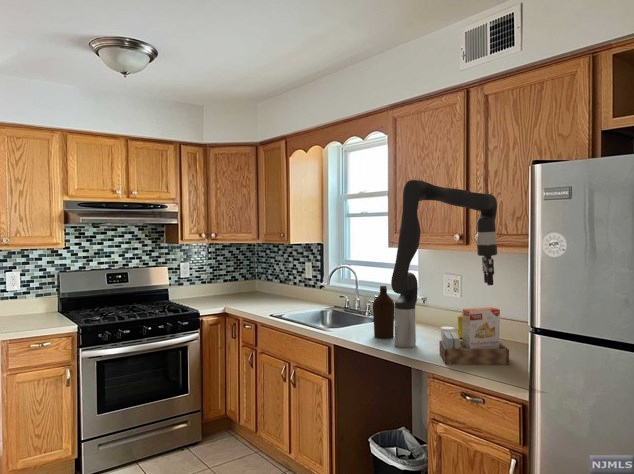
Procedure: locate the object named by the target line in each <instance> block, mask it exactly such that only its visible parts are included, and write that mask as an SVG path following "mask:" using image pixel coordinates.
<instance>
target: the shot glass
mask: <svg viewBox="0 0 634 474" xmlns="http://www.w3.org/2000/svg"><path fill="white" fill-rule="evenodd" d="M439 328H440V341H443V332H449V333H450V332H455V333H456V327H455V326H447V325H446V326H445V325H443V326H440V327H439Z"/></svg>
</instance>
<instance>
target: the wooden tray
mask: <svg viewBox="0 0 634 474" xmlns="http://www.w3.org/2000/svg"><path fill="white" fill-rule="evenodd" d="M439 356H440V358H441V360H442V361H443V363H444V365H466V366H467V365H470V366H471V365H474V366H475V365H478V366H479V365H483V366H484V365H485V366H486V365H489V366H495V365H497V366H509V365H510V349H509V348H508V347H507V346H506V345H504V343H502V342H501V341H500V340H499V349H464V348H463V347H462V340H460V349H447V348H446V346H445V345H444V343H443V341H442V340H439Z"/></svg>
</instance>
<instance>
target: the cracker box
mask: <svg viewBox="0 0 634 474" xmlns="http://www.w3.org/2000/svg"><path fill="white" fill-rule="evenodd" d="M462 315H463V330H462V339H461V341H462V347H463V348H464V349H499V341H500V329H501V328H500V326H501V325H500V322H501V321H500V319H501V317H500V316H501V311H500V309H499V308H496V307H493V306H492V307H491V306H489V307H488V306H486V307H473V308H462Z"/></svg>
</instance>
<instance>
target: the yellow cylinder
mask: <svg viewBox="0 0 634 474" xmlns="http://www.w3.org/2000/svg"><path fill="white" fill-rule="evenodd" d="M462 330H463V314H461V315H458V316H457V331H458V332H457V335H458V337H459V338H460V340H462Z"/></svg>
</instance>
